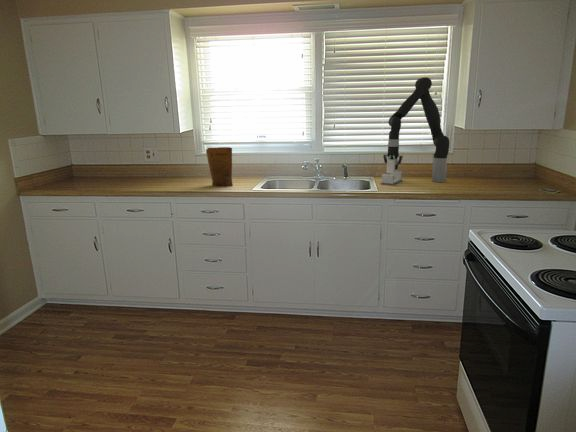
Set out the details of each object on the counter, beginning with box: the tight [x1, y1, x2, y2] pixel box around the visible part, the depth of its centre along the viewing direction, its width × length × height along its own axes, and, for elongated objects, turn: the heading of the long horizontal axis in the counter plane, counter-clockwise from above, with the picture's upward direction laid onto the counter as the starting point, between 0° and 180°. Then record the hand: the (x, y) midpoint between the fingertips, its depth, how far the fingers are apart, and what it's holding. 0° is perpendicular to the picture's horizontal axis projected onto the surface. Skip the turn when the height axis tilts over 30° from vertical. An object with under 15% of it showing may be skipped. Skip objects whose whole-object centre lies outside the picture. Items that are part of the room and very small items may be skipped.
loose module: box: [386, 159, 399, 174], centre depth 307 cm, size 5×9×9 cm, turn 146°
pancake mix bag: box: [205, 146, 234, 187], centre depth 308 cm, size 7×19×28 cm, turn 75°
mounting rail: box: [380, 171, 404, 187], centre depth 309 cm, size 9×20×7 cm, turn 146°
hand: (392, 169), depth 308 cm, fingers closed on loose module, 5 cm apart
